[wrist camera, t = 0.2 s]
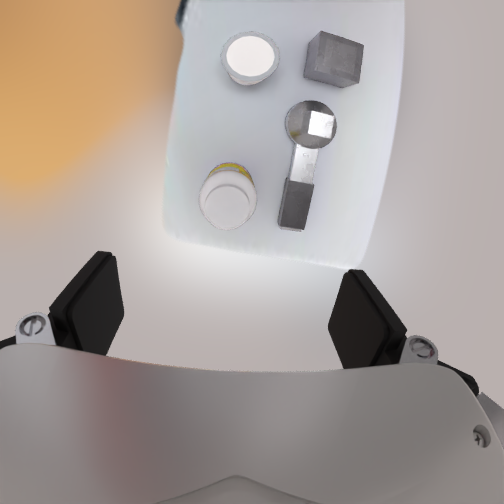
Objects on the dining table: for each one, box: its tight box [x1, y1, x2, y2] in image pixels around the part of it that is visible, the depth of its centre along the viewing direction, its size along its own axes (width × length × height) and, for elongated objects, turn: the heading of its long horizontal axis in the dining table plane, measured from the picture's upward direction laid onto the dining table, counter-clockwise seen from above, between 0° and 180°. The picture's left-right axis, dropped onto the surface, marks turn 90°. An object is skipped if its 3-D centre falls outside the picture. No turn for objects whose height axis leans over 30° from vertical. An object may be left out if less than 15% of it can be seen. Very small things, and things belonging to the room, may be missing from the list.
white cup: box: [221, 31, 280, 85], centre depth 29 cm, size 7×7×7 cm
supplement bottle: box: [199, 163, 257, 230], centre depth 33 cm, size 7×7×13 cm
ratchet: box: [278, 101, 337, 232], centre depth 36 cm, size 20×7×6 cm, turn 171°
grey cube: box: [304, 31, 364, 88], centre depth 29 cm, size 6×6×6 cm
